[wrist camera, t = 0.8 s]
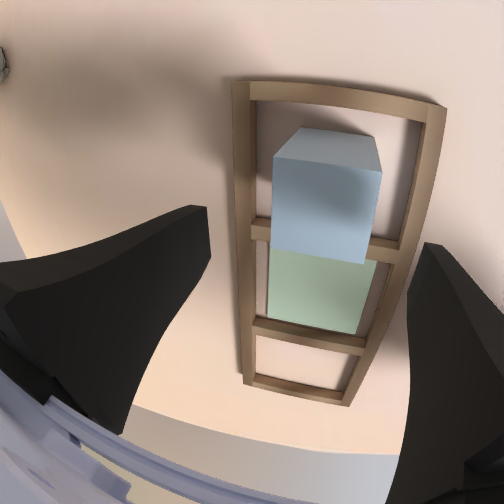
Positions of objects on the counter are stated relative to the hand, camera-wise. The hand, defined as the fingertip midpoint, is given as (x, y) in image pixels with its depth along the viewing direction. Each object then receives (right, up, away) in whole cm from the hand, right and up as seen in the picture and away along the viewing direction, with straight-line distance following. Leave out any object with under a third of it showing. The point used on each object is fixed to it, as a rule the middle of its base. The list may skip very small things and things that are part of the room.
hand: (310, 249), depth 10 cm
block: (+3, +5, +7) cm, 9 cm away
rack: (+3, -3, +12) cm, 12 cm away
